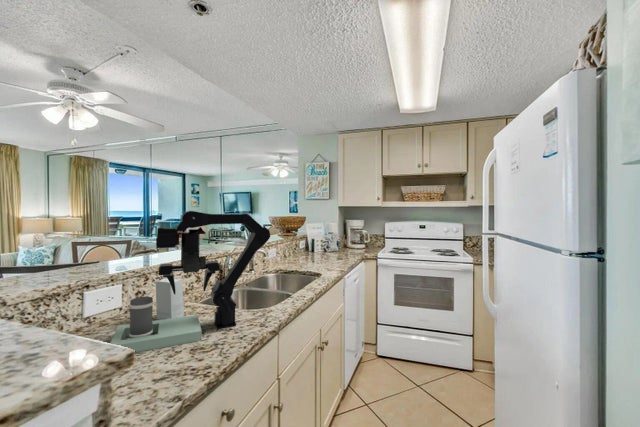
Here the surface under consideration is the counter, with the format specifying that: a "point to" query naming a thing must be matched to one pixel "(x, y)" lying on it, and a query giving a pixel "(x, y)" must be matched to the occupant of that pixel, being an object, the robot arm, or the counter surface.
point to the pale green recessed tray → (161, 334)
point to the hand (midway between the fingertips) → (189, 292)
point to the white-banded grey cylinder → (141, 317)
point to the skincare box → (169, 299)
